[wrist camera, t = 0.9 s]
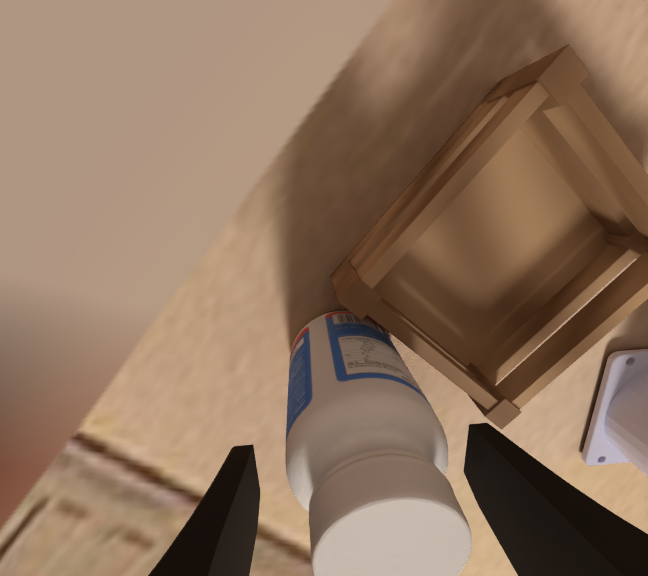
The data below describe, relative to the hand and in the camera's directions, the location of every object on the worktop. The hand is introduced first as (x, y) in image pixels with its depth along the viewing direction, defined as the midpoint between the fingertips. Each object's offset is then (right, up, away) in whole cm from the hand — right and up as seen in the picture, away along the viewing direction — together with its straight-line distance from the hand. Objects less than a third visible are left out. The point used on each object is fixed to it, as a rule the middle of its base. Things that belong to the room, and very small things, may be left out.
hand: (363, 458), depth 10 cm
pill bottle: (0, +2, +7) cm, 7 cm away
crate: (+6, +7, +5) cm, 11 cm away
